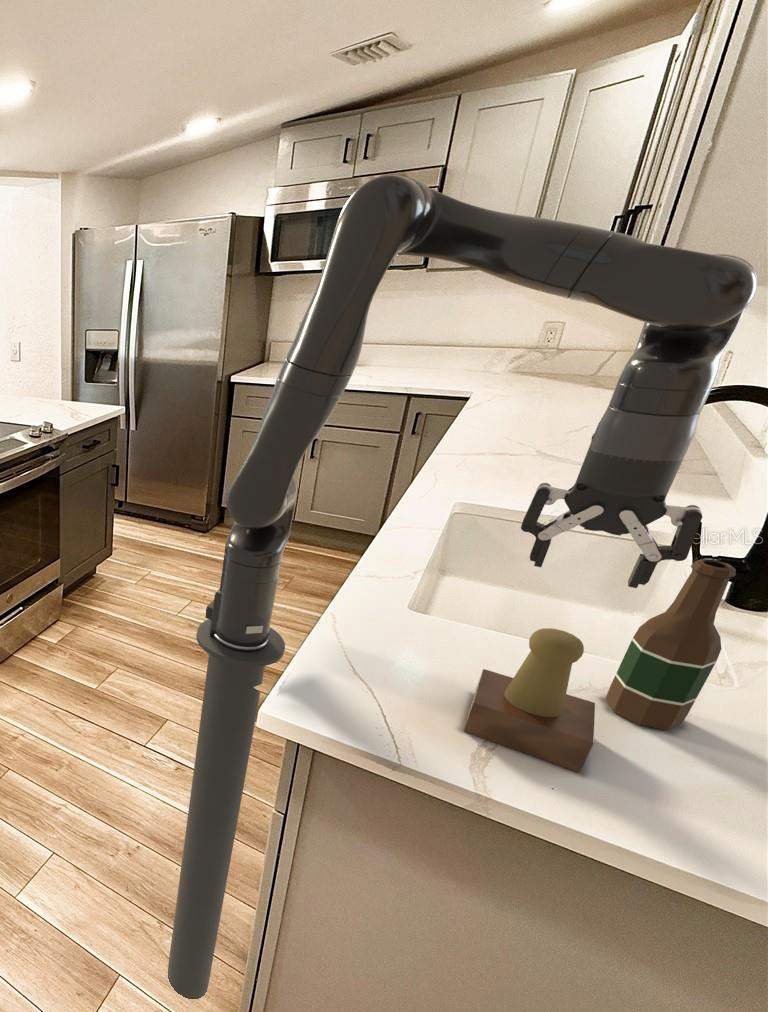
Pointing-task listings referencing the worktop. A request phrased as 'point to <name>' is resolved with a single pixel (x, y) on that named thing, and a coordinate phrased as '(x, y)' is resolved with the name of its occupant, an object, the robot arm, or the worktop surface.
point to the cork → (545, 673)
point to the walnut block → (532, 724)
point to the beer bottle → (672, 653)
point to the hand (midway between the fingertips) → (583, 574)
